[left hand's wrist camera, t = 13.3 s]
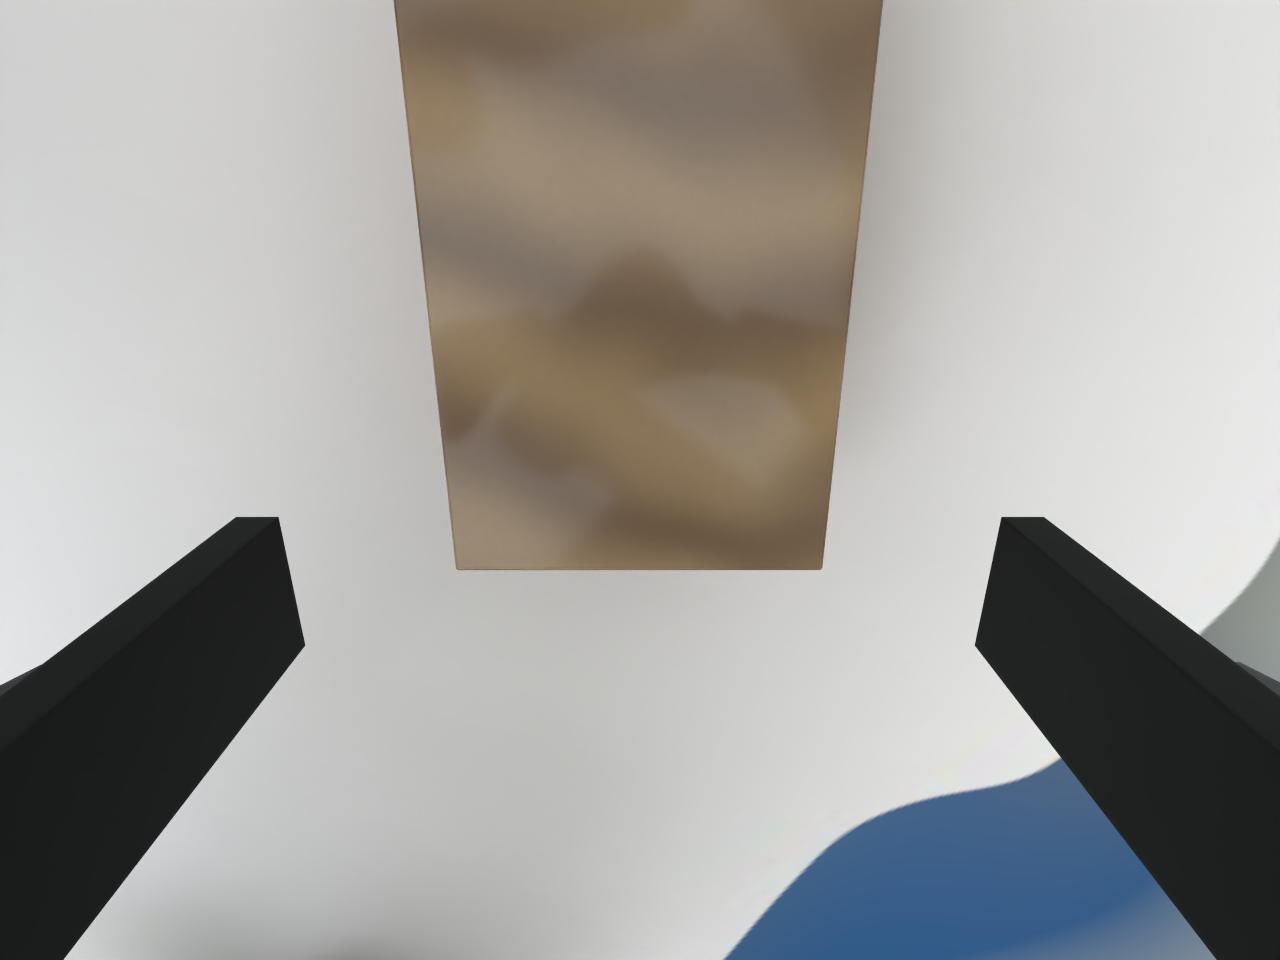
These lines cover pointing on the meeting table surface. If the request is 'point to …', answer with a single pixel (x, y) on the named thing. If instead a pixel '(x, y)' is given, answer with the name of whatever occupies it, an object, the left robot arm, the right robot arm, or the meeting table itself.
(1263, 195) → the meeting table surface
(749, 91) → the cabinet
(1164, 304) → the meeting table surface
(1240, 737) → the left robot arm
